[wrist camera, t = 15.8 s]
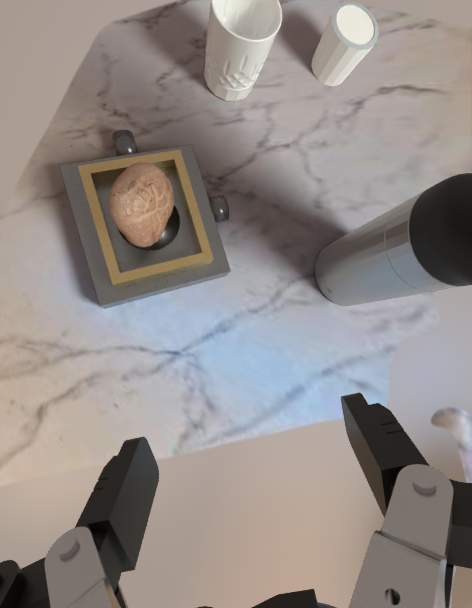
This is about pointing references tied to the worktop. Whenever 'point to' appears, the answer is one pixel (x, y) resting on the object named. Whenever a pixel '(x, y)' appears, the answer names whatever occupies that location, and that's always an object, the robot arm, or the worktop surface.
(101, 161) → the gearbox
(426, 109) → the worktop surface
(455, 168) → the worktop surface
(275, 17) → the white cup
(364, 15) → the shot glass
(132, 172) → the mushroom
